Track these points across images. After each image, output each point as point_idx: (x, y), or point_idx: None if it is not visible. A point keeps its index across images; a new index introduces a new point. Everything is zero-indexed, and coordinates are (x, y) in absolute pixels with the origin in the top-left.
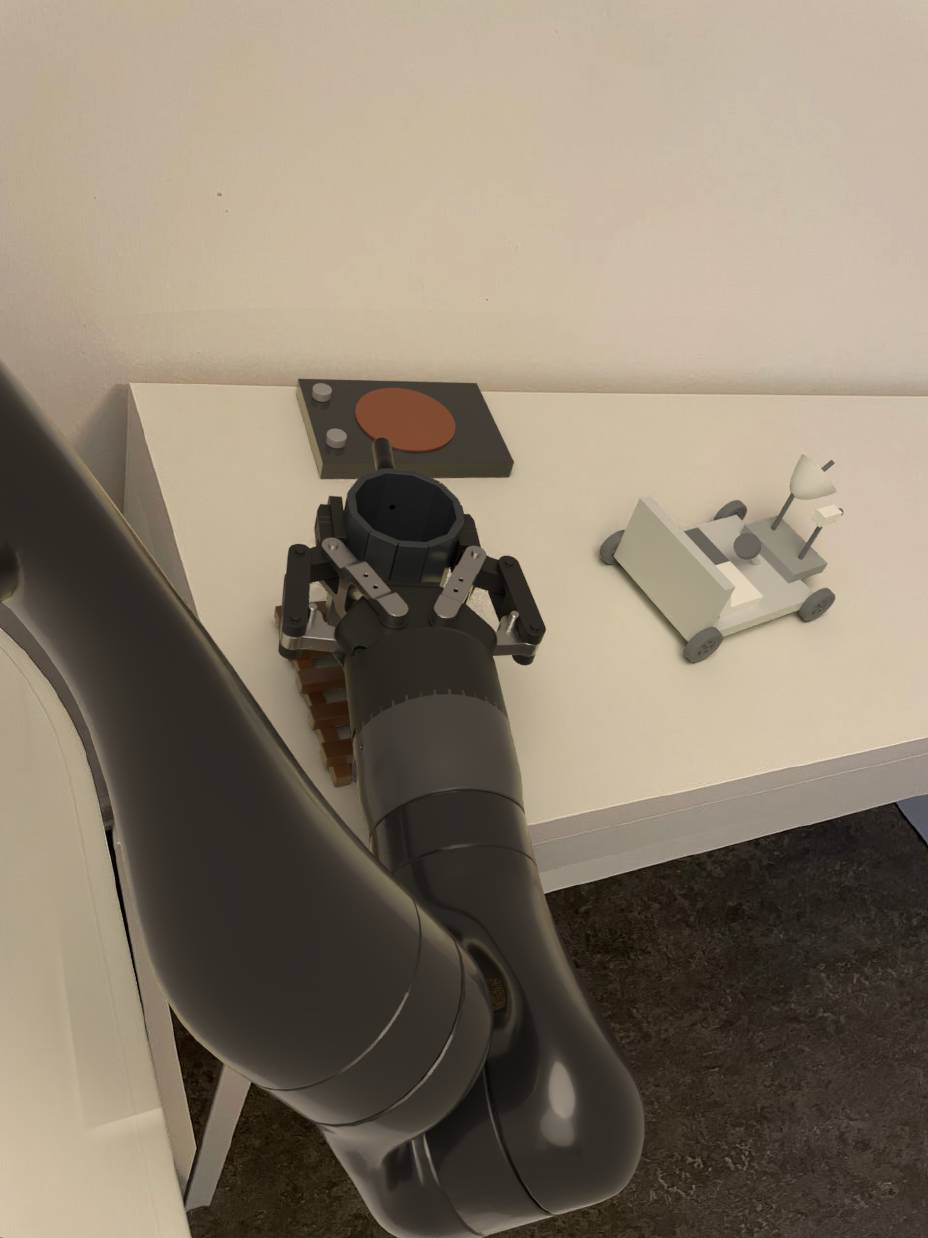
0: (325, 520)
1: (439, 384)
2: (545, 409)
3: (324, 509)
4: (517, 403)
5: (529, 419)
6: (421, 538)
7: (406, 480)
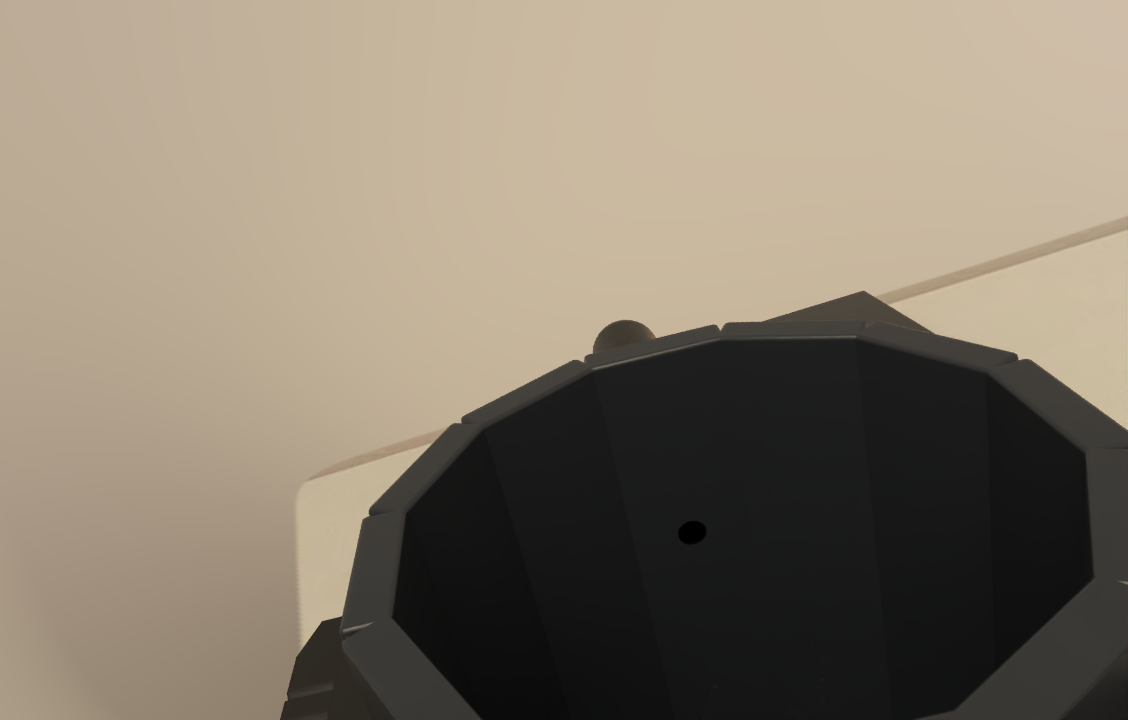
0: (318, 708)
1: (797, 314)
2: (1010, 292)
3: (333, 644)
4: (952, 301)
5: (990, 314)
6: (882, 636)
7: (701, 378)
